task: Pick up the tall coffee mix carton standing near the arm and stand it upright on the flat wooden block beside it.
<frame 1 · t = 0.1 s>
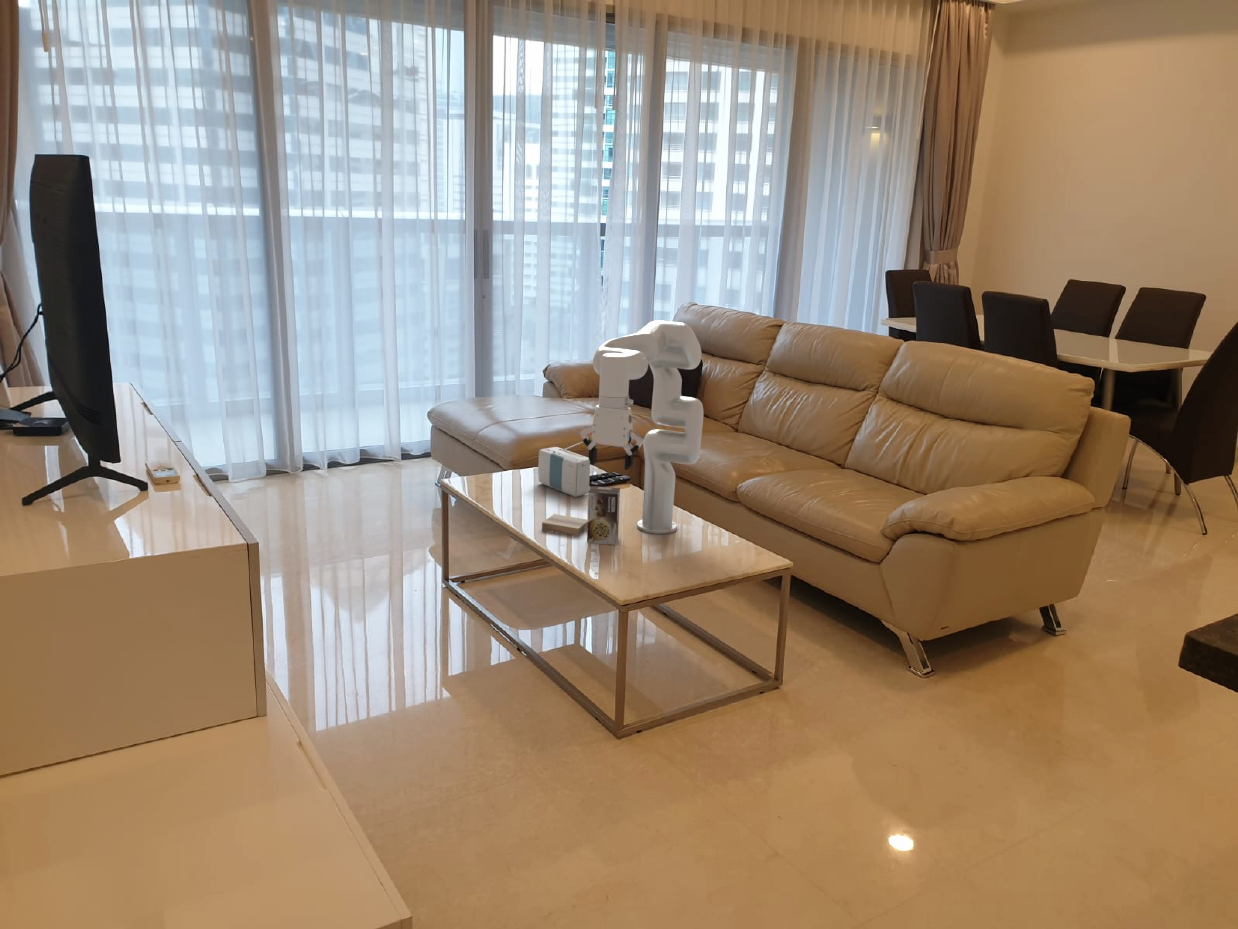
hand: (610, 466, 236), 31 cm above the table, tool pointing down, fingers open, 9 cm apart
flat wooden block: (565, 528, 280), on the table
coffee box: (602, 541, 271), on the table
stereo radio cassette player: (564, 490, 320), on the table
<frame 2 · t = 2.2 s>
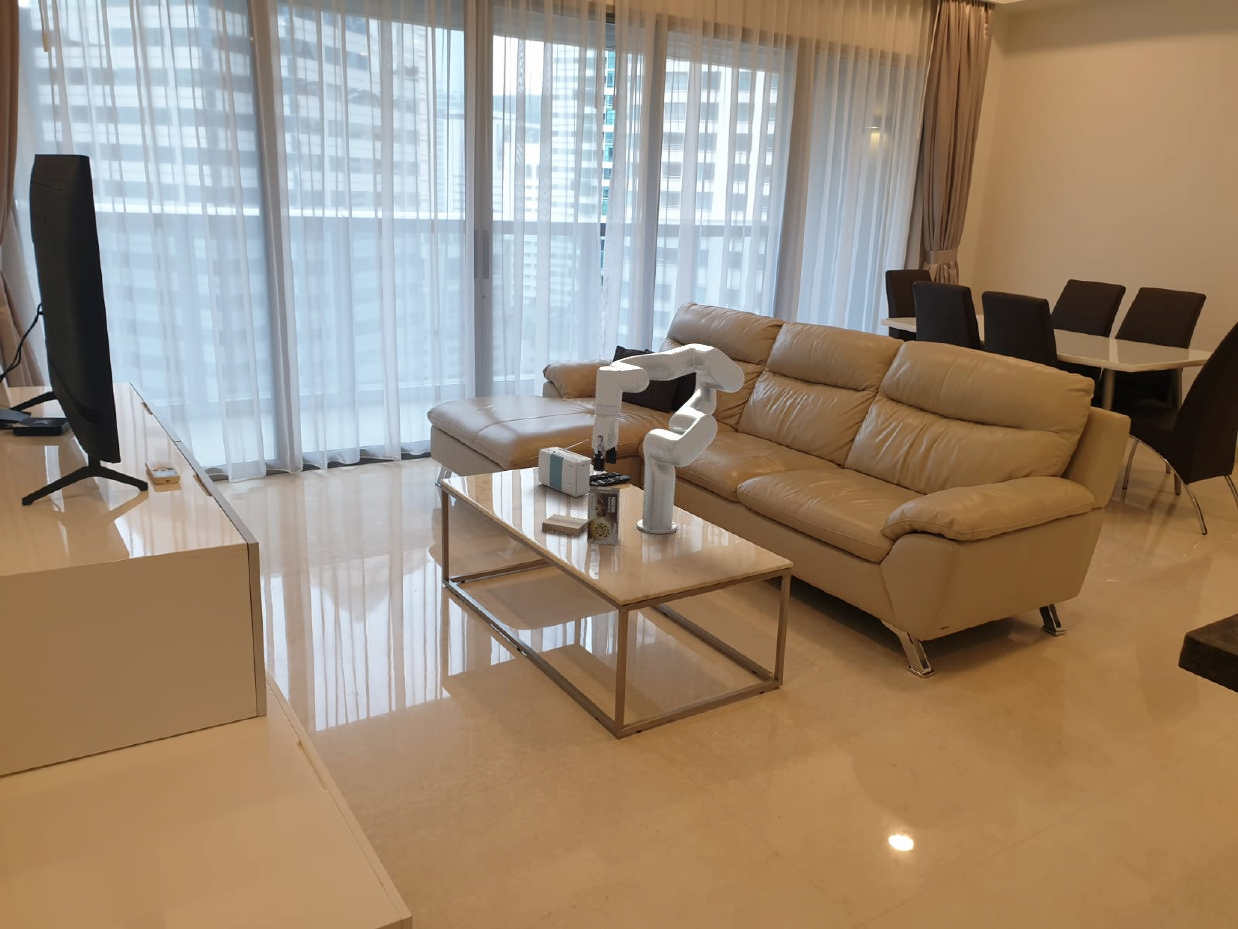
hand: (604, 467, 265), 23 cm above the table, tool pointing down, fingers open, 9 cm apart
nothing on the table moved.
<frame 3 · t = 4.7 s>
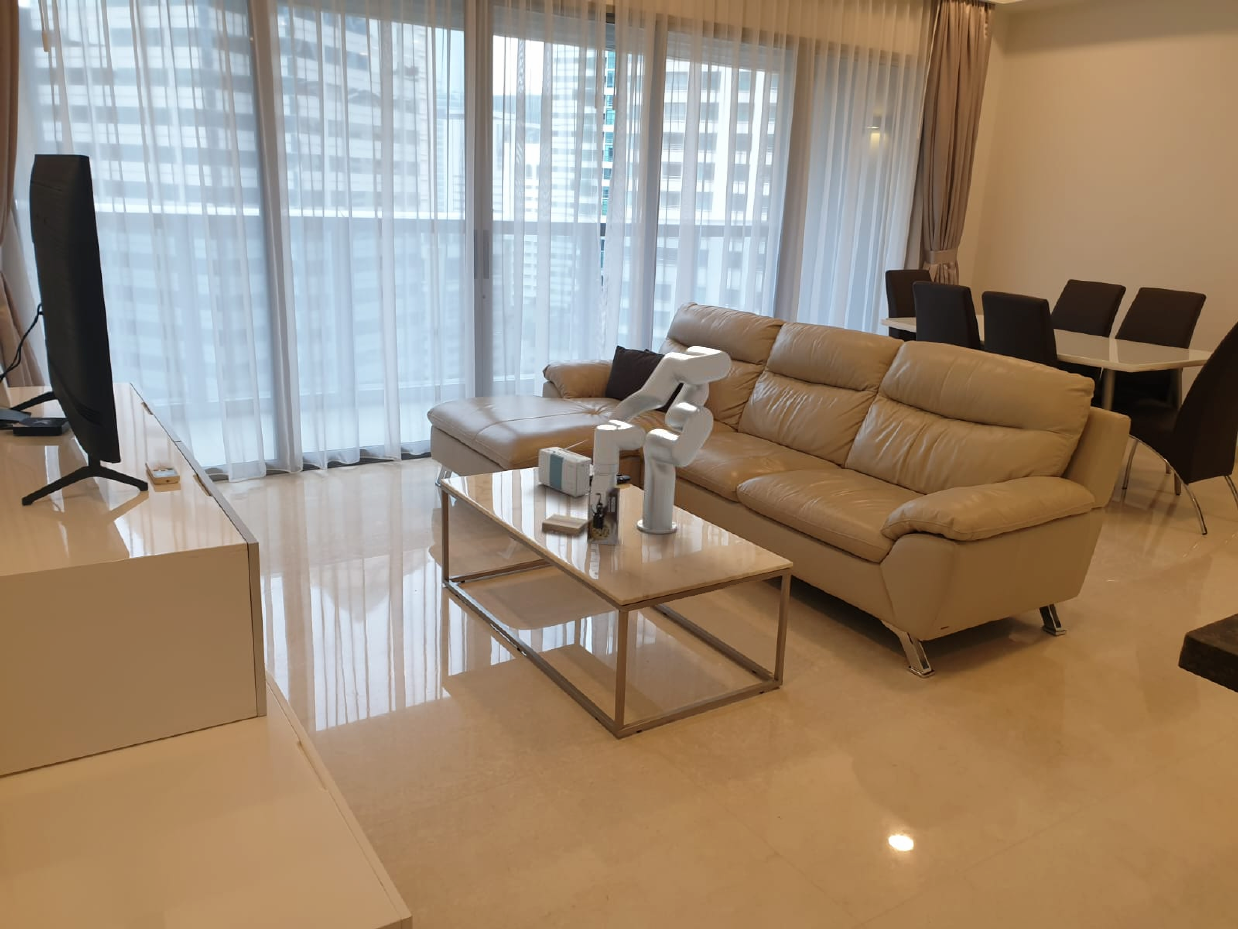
hand: (603, 523, 270), 5 cm above the table, tool pointing down, fingers closed on coffee box, 7 cm apart
coffee box: (602, 541, 271), on the table, touching gripper
everything else where it was.
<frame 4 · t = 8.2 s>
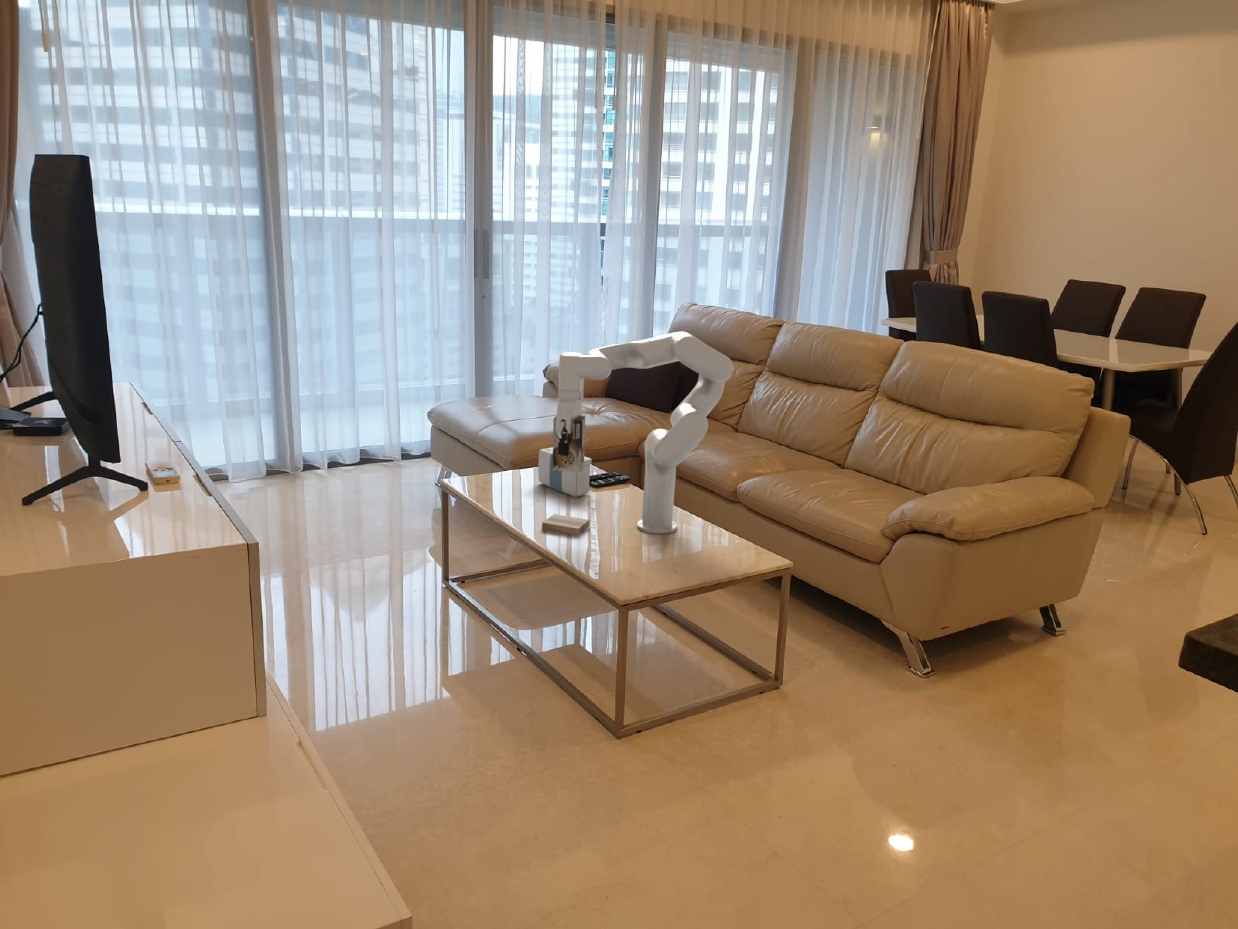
hand: (568, 451, 273), 25 cm above the table, tool pointing down, fingers closed on coffee box, 7 cm apart
coffee box: (568, 469, 275), point 19 cm above the table, touching gripper
everything else where it was.
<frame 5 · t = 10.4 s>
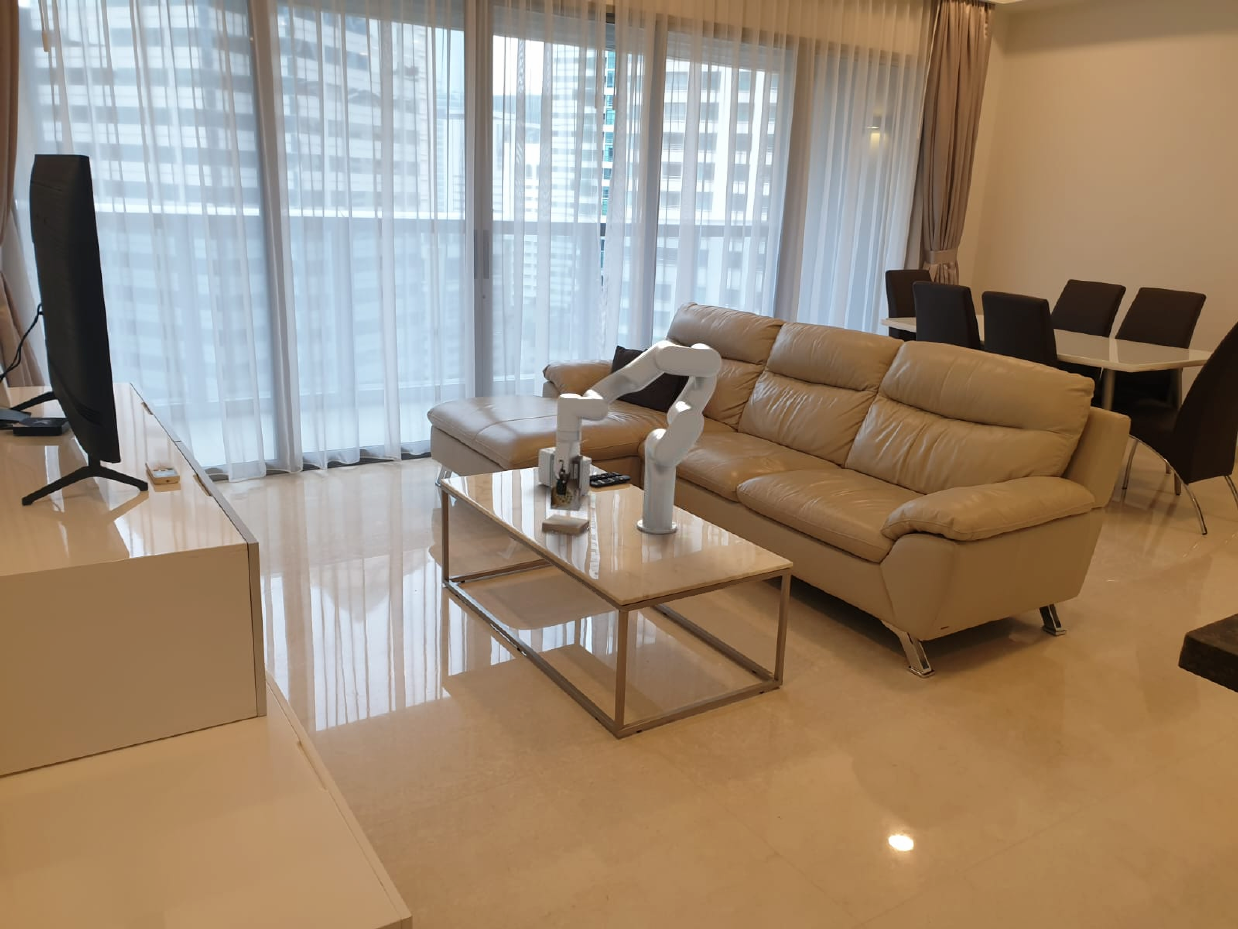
hand: (566, 490, 277), 12 cm above the table, tool pointing down, fingers closed on coffee box, 7 cm apart
coffee box: (565, 508, 278), point 7 cm above the table, touching gripper
everything else where it was.
when the fingers open (9 cm above the table, at t = 12.1 s): coffee box drops 1 cm, resting on flat wooden block.
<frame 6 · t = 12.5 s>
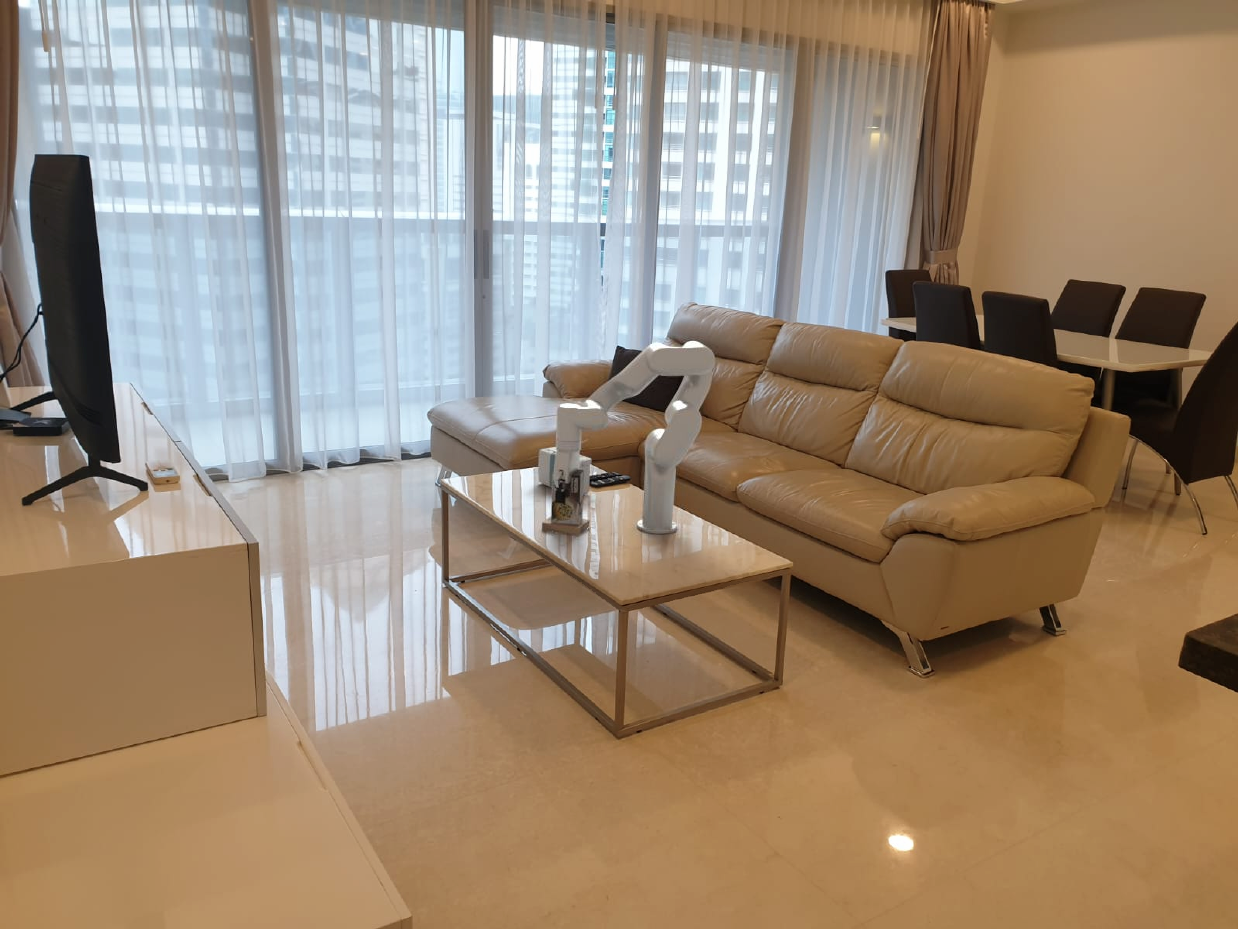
hand: (566, 498, 277), 10 cm above the table, tool pointing down, fingers open, 9 cm apart
coffee box: (566, 521, 280), point 2 cm above the table, touching flat wooden block
everything else where it was.
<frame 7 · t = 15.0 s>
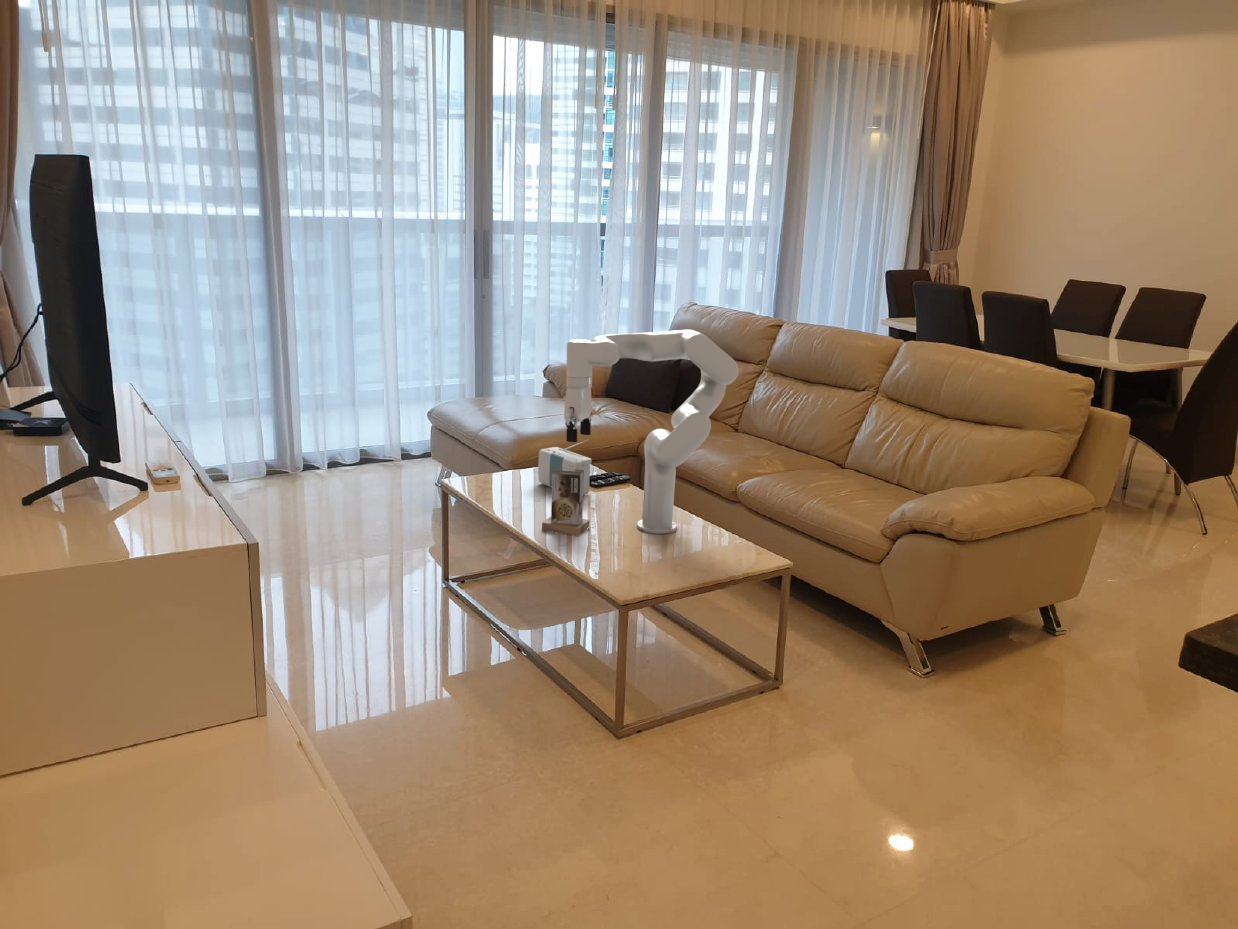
hand: (578, 438, 271), 30 cm above the table, tool pointing down, fingers open, 9 cm apart
nothing on the table moved.
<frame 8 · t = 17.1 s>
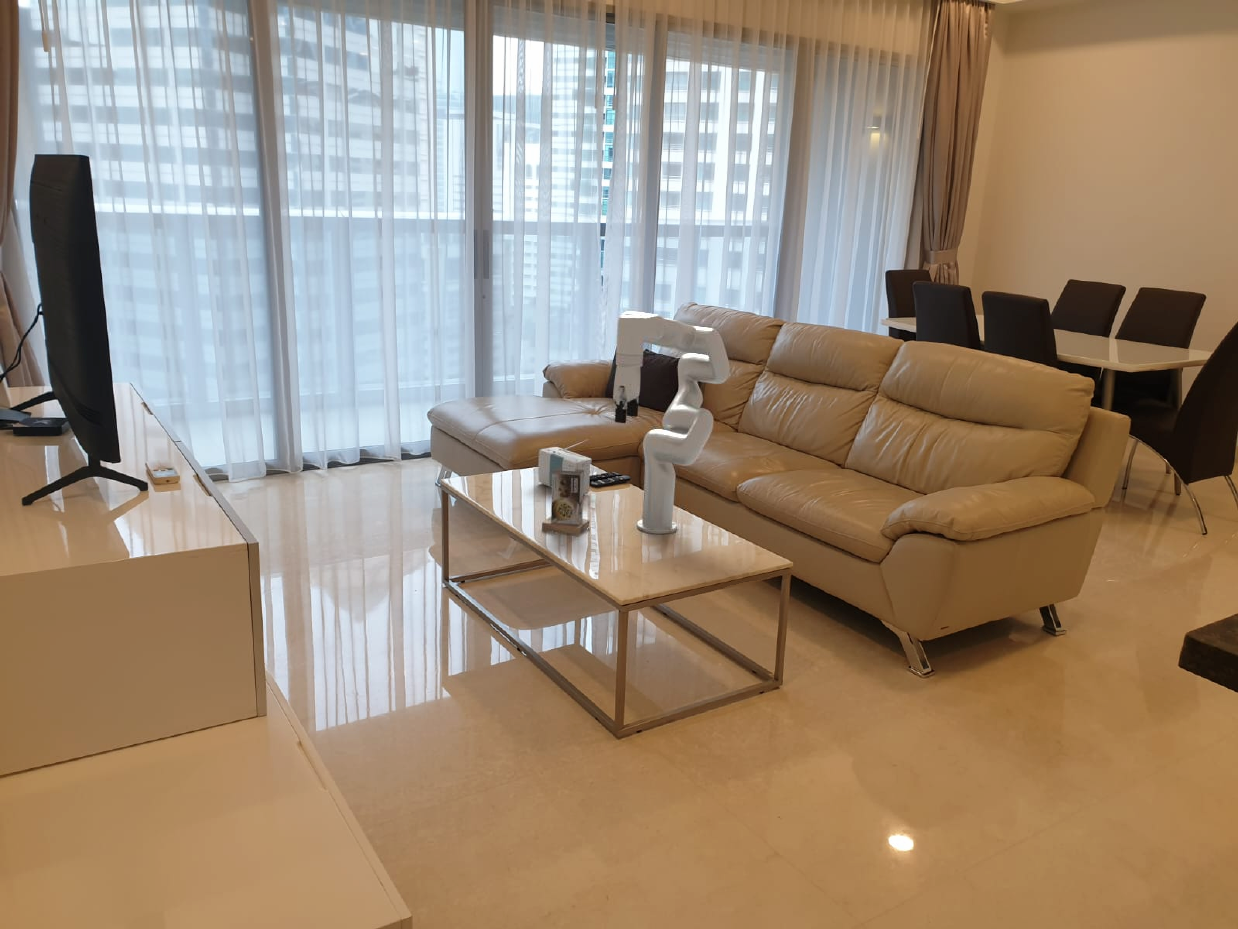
hand: (626, 419, 258), 38 cm above the table, tool pointing down, fingers open, 9 cm apart
nothing on the table moved.
at the end: coffee box 0.3 cm off-centre on the flat wooden block, point 2.3 cm above the flat wooden block's base; coffee box tilted 0°; the gripper is holding nothing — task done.
